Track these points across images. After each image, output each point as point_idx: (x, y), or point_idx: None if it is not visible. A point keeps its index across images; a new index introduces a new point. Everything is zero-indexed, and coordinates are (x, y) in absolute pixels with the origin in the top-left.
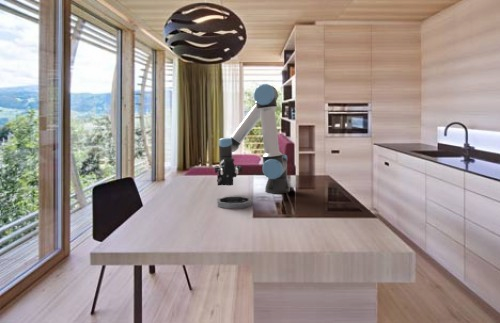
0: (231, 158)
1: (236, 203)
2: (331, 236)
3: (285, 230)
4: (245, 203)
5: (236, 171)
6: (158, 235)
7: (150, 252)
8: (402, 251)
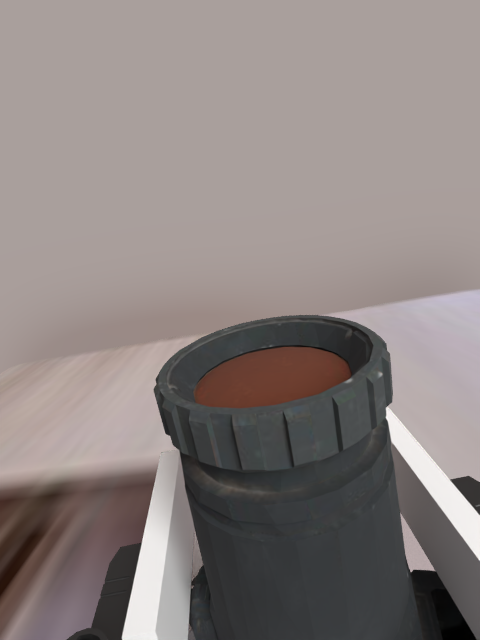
0: (202, 406)
1: None
2: (68, 385)
3: (139, 393)
4: (190, 635)
5: (186, 497)
6: (433, 332)
7: (387, 303)
8: (21, 364)
